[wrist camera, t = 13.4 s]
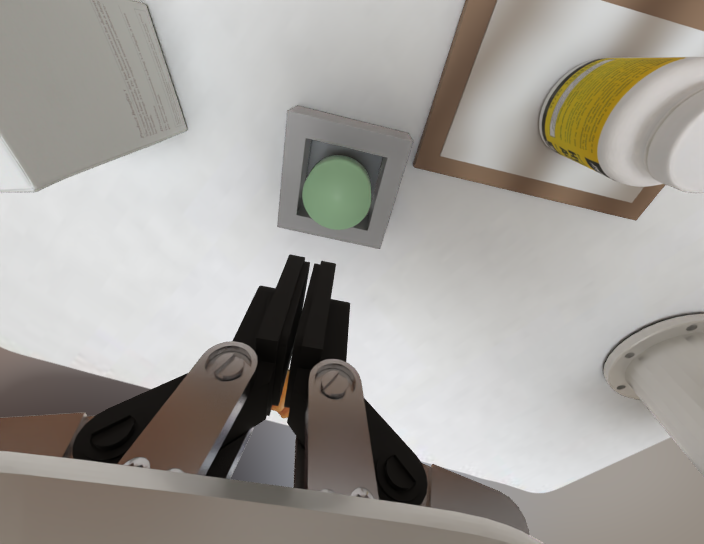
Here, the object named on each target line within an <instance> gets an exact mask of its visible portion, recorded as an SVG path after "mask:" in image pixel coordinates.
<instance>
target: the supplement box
mask: <svg viewBox="0 0 704 544" xmlns="http://www.w3.org/2000/svg"><path fill="white" fill-rule="evenodd" d="M185 131H187V127H186V124H185V121H184V118H183V115H182V112H181V109H180V106H179V103H178V100H177V97H176V94H175V91H174V88H173V85H172V82H171V79H170V76H169V72H168V69H167V66H166V63H165V60H164V57H163V54H162V51H161V48H160V45H159V42H158V39H157V36H156V33H155V30H154V27H153V24H152V21H151V18H150V15H149V12H148V9H147V6H146V4H144V3H140V2H137V1H133V0H0V193H10V192H38V191H40V190H42V189H44V188H46V187H48V186H50V185H52V184H54V183H57V182H59V181H61V180H63V179H66V178H68V177H71V176H73V175H76V174H78V173H81V172H84V171H86V170H89V169H91V168H94V167H96V166H99V165H101V164H104V163H107V162H109V161H112V160H114V159H117V158H120V157H123V156H125V155H128V154H130V153H133V152H136V151H138V150H141V149H143V148H146V147H149V146H151V145H154V144H156V143H159V142H161V141H163V140H166V139H168V138H170V137H173V136H175V135H178V134H180V133H183V132H185Z"/></svg>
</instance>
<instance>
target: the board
mask: <svg viewBox="0 0 704 544" xmlns="http://www.w3.org/2000/svg"><path fill="white" fill-rule="evenodd" d="M629 57H704V0H466V1H465V4H464V7H463V10H462V14H461V17H460V20H459V23H458V26H457V29H456V32H455V35H454V38H453V41H452V45H451V48H450V51H449V54H448V57H447V60H446V63H445V66H444V69H443V72H442V75H441V79H440V82H439V85H438V88H437V91H436V94H435V97H434V100H433V103H432V106H431V109H430V113H429V116H428V119H427V122H426V125H425V128H424V131H423V134H422V137H421V140H420V143H419V147H418V150H417V153H416V156H415V159H414V162H413V166H414V167H415V168H419V169H423V170H427V171H431V172H436V173H440V174H444V175H448V176H452V177H456V178H461V179H465V180H469V181H473V182H477V183H482V184H486V185H490V186H494V187H498V188H502V189H507V190H511V191H515V192H519V193H523V194H527V195H532V196H536V197H540V198H544V199H548V200H552V201H557V202H561V203H565V204H569V205H573V206H578V207H582V208H586V209H590V210H594V211H598V212H603V213H607V214H611V215H615V216H619V217H623V218H628V219H632V220H637V219H638V218H639V216H640V215H641V214H642V213H643V212H644V210H645V209H646V208H647V207H648V205H649V204H650V203H651V202H652V201H653V199H654V198H655V197H656V196H657V194H658V193H659V192H660V191H661V189H662V188H663V187H664V186H665V184H660V185H655V186H647V187H637V186H629V185H625V184H622V183H620V182H617V181H614V180H612V179H610V178H608V177H606V176H604V175H602V174H600V173H598V172H596V171H594V170H592V169H590V168H588V167H586V166H584V165H582V164H579V163H577V162H575V161H573V160H571V159H569V158H567V157H565V156H562V155H560V154H558V153H556V152H555V151H553V150H552V149H550V148H549V147H548V146H547V145H546V144H545V143H544V141H543V140H542V137H541V135H540V130H539V119H540V114H541V110H542V107H543V104H544V102H545V99H546V98H547V96H548V94H549V93H550V91H551V90H552V88H553V87H554V86H555V84H556V83H557V82H558V81H559V80H560V79H561V78H562V77H563V76H564V75H565V74H567V73H568V72H569V71H571V70H572V69H574V68H575V67H577V66H579V65H581V64H583V63H585V62H588V61H591V60H594V59H599V58H629Z"/></svg>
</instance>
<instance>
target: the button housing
mask: <svg viewBox="0 0 704 544" xmlns="http://www.w3.org/2000/svg"><path fill="white" fill-rule="evenodd" d="M312 140H316V141H320V142H324V143H328V144H332V145H337V146H341V147H345V148H349V149H353V150H357V151H362V152H366V153H370V154H374V155H378V156H382V157H383V159H382V163H381V167H380V171H379V175H378V178H377V182H376V186H375V190H374V193H373V197H372V201H371V205H370V208H369V212H368V215H366V216H365V217H364V219H363V220H362V221H361V222H359V223H358V224H357V225H355V226H353V227H351V228H348V229H343V230H334V229H329V228H326V227H323V226H321V225H319V224H318V223H317V222H315V221H314V220H313V219H312V218H311V217H310V216H309V214H308V213H307V211H306V209H305V207H304V204H303V198H302V192H303V186H304V184H305V181H306V178H307V171H308V163H309V156H310V148H311V141H312ZM412 145H413V140H412V138H411V137H410V135H409V133H406V132H402V131H398V130H394V129H390V128H386V127H382V126H378V125H374V124H370V123H366V122H362V121H358V120H354V119H350V118H346V117H342V116H338V115H334V114H330V113H326V112H322V111H318V110H314V109H310V108H306V107H302V106H298V105H297V106H295V107H293V108H291V109H289V110H287V120H286V132H285V143H284V155H283V167H282V178H281V190H280V202H279V213H278V225H277V227H280V228H284V229H289V230H294V231H298V232H303V233H308V234H312V235H317V236H322V237H326V238H331V239H335V240H340V241H345V242H349V243H354V244H359V245H363V246H368V247H373V248H377V249H380V247H381V244H382V241H383V238H384V234H385V231H386V228H387V225H388V222H389V218H390V215H391V212H392V209H393V206H394V202H395V199H396V196H397V193H398V189H399V186H400V183H401V180H402V177H403V173H404V170H405V167H406V164H407V161H408V157H409V154H410V151H411V148H412Z"/></svg>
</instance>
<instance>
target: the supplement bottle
mask: <svg viewBox="0 0 704 544" xmlns="http://www.w3.org/2000/svg"><path fill="white" fill-rule="evenodd" d="M539 130H540V135H541V137H542V140H543V141H544V143H545V144H546V145H547V146H548V147H549V148H550V149H552V150H553V151H555V152H556V153H558V154H560V155H562V156H565V157H567V158H569V159H571V160H573V161H575V162H577V163H579V164H582V165H584V166H586V167H588V168H590V169H592V170H594V171H596V172H598V173H600V174H602V175H604V176H606V177H608V178H610V179H612V180H614V181H617V182H620V183H622V184H625V185H629V186H637V187H647V186H655V185H660V184H665V185H668V186H671V187H673V188H676V189H678V190H681V191H684V192H689V193H704V57H629V58H599V59H594V60H591V61H588V62H585V63H583V64H581V65H579V66H577V67H575V68H574V69H572V70H571V71H569V72H568V73H567V74H565V75H564V76H563V77H562V78H561V79H560V80H559V81H558V82H557V83H556V84H555V86H554V87H553V88H552V90H551V91H550V93H549V94H548V96H547V98H546V99H545V102H544V104H543V107H542V110H541V114H540V119H539Z"/></svg>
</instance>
